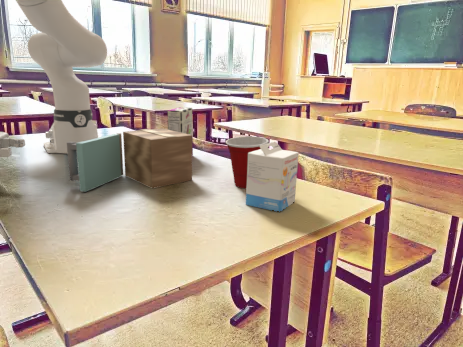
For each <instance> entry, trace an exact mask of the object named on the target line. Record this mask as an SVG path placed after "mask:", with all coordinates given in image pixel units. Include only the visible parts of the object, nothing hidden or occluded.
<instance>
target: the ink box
mask: <svg viewBox="0 0 463 347" xmlns="http://www.w3.org/2000/svg"><path fill="white" fill-rule="evenodd" d="M269 147H272V148H269ZM260 148H261V149H259V150H256V151H252V152H249V153H248V166H247V187H246V188H245V189H246V190H245V191H246V192H245V205H246V206H251V207H254V208H260V209H263V210H269V211H272V210H274V211H273V212H277V211H279V212H278V213H281V212H283V211H284V210H286V207H287V208H288V207H290V206H291V205H292V204H294V203H295V201H296V192H297V180H298V179H297V178H298V176H297V175H298V167H299V155H300V154H299V153H300V152H298V151H292V150H285V149H283V148H281V146H280V145H279V143H277V141H272V142H268V144H264V145H260ZM293 202H294V203H293ZM283 209H284V210H283ZM280 211H281V212H280Z"/></svg>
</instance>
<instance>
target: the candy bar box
mask: <svg viewBox="0 0 463 347" xmlns="http://www.w3.org/2000/svg"><path fill="white" fill-rule="evenodd" d="M166 112H167V114H166V115H167V130H172V131H176V132H180V133H185V134H189V135H192V156H194V148H193V146H194V143H193V141H194V139H193V136H194V135H193V134H194V133H193V131H194V130H193V107H185V106H184V107H183V106H181V107H176V108H172V109H169V110H167V111H166Z"/></svg>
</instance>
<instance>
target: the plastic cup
mask: <svg viewBox="0 0 463 347" xmlns="http://www.w3.org/2000/svg"><path fill="white" fill-rule="evenodd" d="M268 143H270V142H269V139H268V138H266V137H262V136H252V135H251V136H249V135H247V136H236V137H232V138H228V139H227V140H225V144H226V146H227V147H228V151H229V155H230V162H231V163H230V164H231V168H232V175H233V182H234V186H236V187H237V188H241V189H246V187H247V166H248V153H249V152H252V151H256V150H259V149H261V148H260V145H264V144H268Z"/></svg>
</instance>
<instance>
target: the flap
mask: <svg viewBox="0 0 463 347" xmlns="http://www.w3.org/2000/svg"><path fill="white" fill-rule="evenodd" d="M122 140H123V138H122V133H121V132H120V133H117V132H116V133H113V134H109V135H105V136H101V137H98V138H95V139H91V140H87V141H83V142H78V143H76V142H67V153H66V154H67V160H68V161H67V162H68V163H67V164H68V172H69V181H70V182H71V181H72V182H75V181H77V182H79V190H80V192H85V193H86V192H89V191H91V190H93V189H96V188H97V187H99V186H100V187H101V186H103V185H104V184H107V183H109V182H111V181H114V180H116V179H118V178H121V177H122V176H124V161H123V158H124V157H123V141H122Z"/></svg>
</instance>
